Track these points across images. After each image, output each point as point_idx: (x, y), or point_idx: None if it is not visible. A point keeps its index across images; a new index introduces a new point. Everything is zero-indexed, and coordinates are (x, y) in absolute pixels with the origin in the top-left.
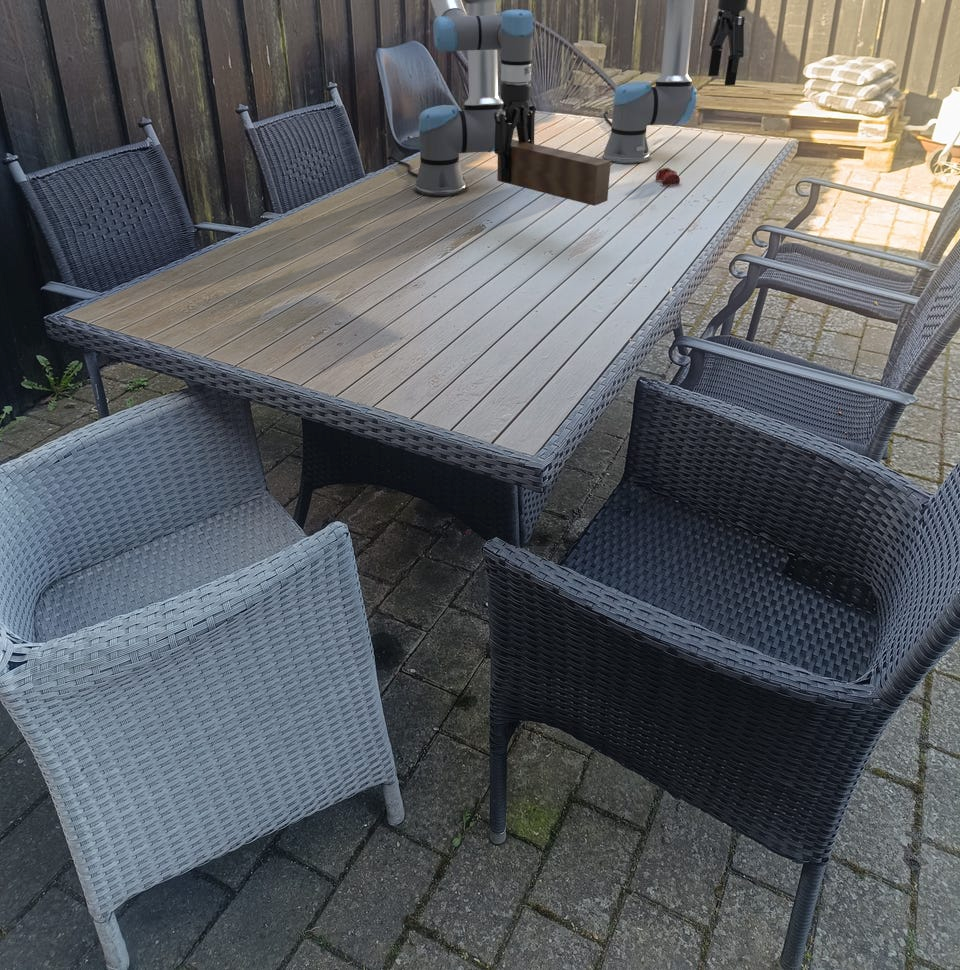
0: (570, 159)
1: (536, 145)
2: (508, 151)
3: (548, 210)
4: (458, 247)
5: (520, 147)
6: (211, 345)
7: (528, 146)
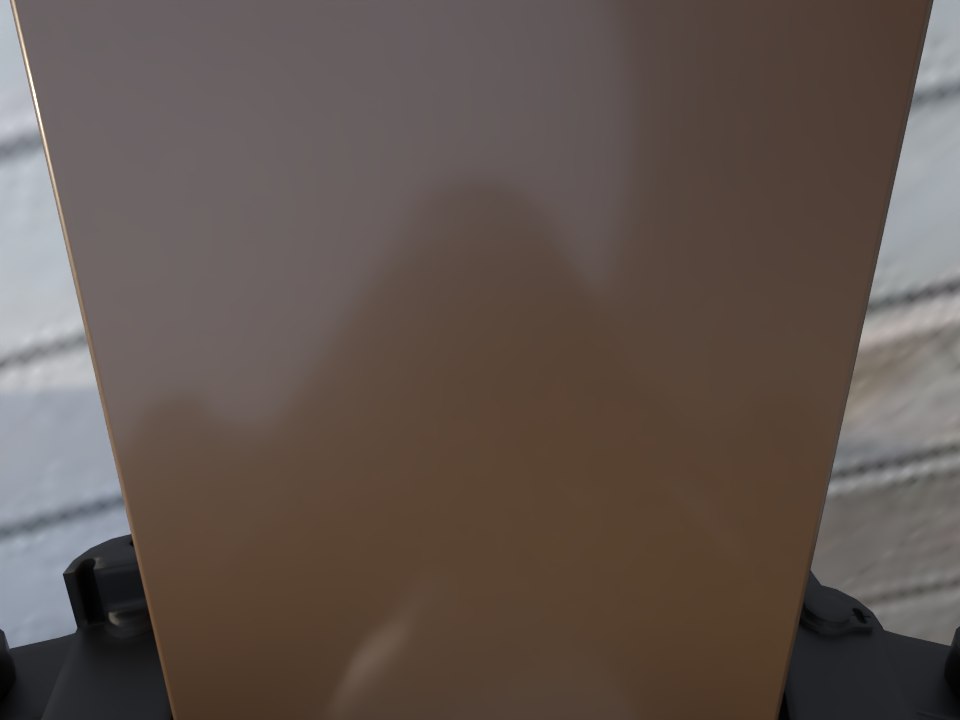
0: None
1: (180, 289)
2: (822, 657)
3: (27, 369)
4: (923, 324)
5: (770, 501)
6: None
7: (494, 403)
